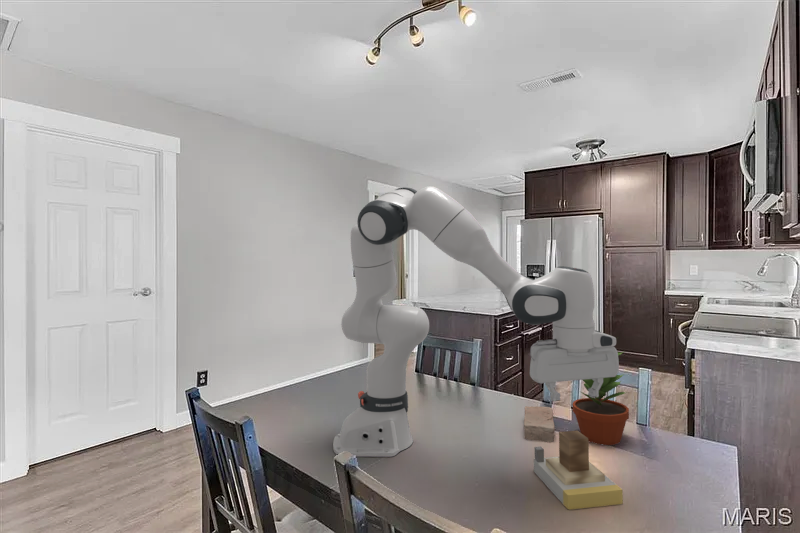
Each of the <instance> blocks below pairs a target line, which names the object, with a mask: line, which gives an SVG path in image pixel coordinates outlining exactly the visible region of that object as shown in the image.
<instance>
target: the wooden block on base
mask: <svg viewBox="0 0 800 533" xmlns="http://www.w3.org/2000/svg"><path fill="white" fill-rule="evenodd" d="M589 443H590V442H589V441H588V438H587V437H586V436H584V435H583V434H581V433H580V430H568V431H567V430H566V431H559V432H558V452H559V454H558V455H559V456H558V457H559V458H550V457H547V458H548V459H546V466H547V467H548V468H549V469H550V470H551V471H552V472H553V473H554V474H555V475H556V476H557V477H558V478H559V479H560V480H561V481H562V482H563V483H564V484H565V485H573V484H583V483H593V482H603V481H605V476H606V474H605V473H604V472H602V471H601V470H600V469H599V468H598V467H597V466H595V465H594V464H593V463H592V462H591V461H590V454H589V453H590V452H589V446H590V444H589Z"/></svg>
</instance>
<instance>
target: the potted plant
mask: <svg viewBox="0 0 800 533" xmlns="http://www.w3.org/2000/svg"><path fill="white" fill-rule="evenodd" d="M618 338H619V337H617V338H616V339H618ZM623 353H624V351H622V352H618V357H619V356H621V355H622V354H623ZM621 360H622V358H620V359H619V362H620V361H621ZM624 375H625V373H624V374H621V375H620V374H617V375H616V376H615V377H607V378H603V384H602V386H601V387H600V389H599V397H595V398H592V397H590V396H589V395H588V393H589V391H588V388H591V387H592V385H593V383H594V380H592V379H585V380H582V382H584V383H583V386H584V388H585V389H586V390H587V392H588V393H584V392H582V391H580V393H581V394H582V395H584V396H586V398H585V397H583V398H579V399H576V400H574V401H573V402H572V412H573V414H575V417H576V422H577V426H578V429H579V432H580V433H581V434H583V435H584V436H586V437H587V438H588V442H589V441H590V442H589V443H592V442H593V443H592V444H595V443H597V444H596V445H601V444H603V445H602V446H615V445H618V444H620V443H621V441H622V437H623V434H624V430H625V427H626V425H627V424H626V423H627V421H628V420H629V419H630V408H629V407H628V406H627V405H625V404H623V403H622V402H619V401H616V400H611V399H613V398H616V397H618V396H619V397H620V396H622V395H625V394H628V393H629V391H627V392H625V391H619V392H615V393H613V394H610V395H608V396H607V394H606V393H608V392H610V391H611V390H613V389H615V388H617V387H618V386H620V385H621V382H622V380H621V381H617V380H619V379H620V378H622V377H623V376H624Z"/></svg>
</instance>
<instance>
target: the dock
mask: <svg viewBox="0 0 800 533" xmlns="http://www.w3.org/2000/svg"><path fill="white" fill-rule="evenodd" d="M548 458H559V456H552V457H545V450H544V447H543V446H534V458H533V472H534V473H535V475H536V476H537V477H538V479H540V480H541V481H542V482H543V484H545V486H546V487H547V488H548V489H549V490H550V492H552V493H553V495H554V496H555V497H556V498H557V499H558V500H559V501H560V502H561V504H562V505H563V506H564V507H565V508H566V509H567V511H568V510H578V509H579V510H580V509H588V508H599V507H607V506H608V507H609V506H617V505H623V504H624V501H623V500H624V499H623V495H624V494H623V490H624V489H622V488H621V487H620V486H619V485H618V484H616V483H615V482H614V481H613V480H612V479H610V478H609V477H608V476H607V475H605V481H603V482H593V483H583V484H573V485H565V484H564V483H563V482H562V481H561V480H560V479H559V478H558V477H557V476H556V475H555V474H554V473H553V472H552V471H551V470H550V469H549V468H548V467H547V466H546V459H548Z"/></svg>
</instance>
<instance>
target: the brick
mask: <svg viewBox="0 0 800 533" xmlns="http://www.w3.org/2000/svg"><path fill="white" fill-rule="evenodd" d="M523 428H524V429H523V430H524V431H523V434H524V439H525V440H529V441H538V442H545V443H554V442H555V431H556V430H555V429H556V428H555V422H554V411H553V408H552V407H549V406H528V405H526V406H525V407H524V420H523Z"/></svg>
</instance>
